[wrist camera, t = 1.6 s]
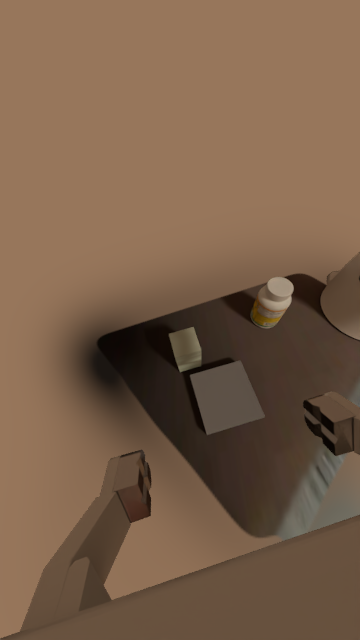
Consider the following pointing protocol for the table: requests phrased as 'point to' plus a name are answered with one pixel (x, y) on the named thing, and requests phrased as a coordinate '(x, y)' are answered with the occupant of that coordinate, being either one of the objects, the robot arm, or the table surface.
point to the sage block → (186, 349)
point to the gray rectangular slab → (225, 397)
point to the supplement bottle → (272, 302)
